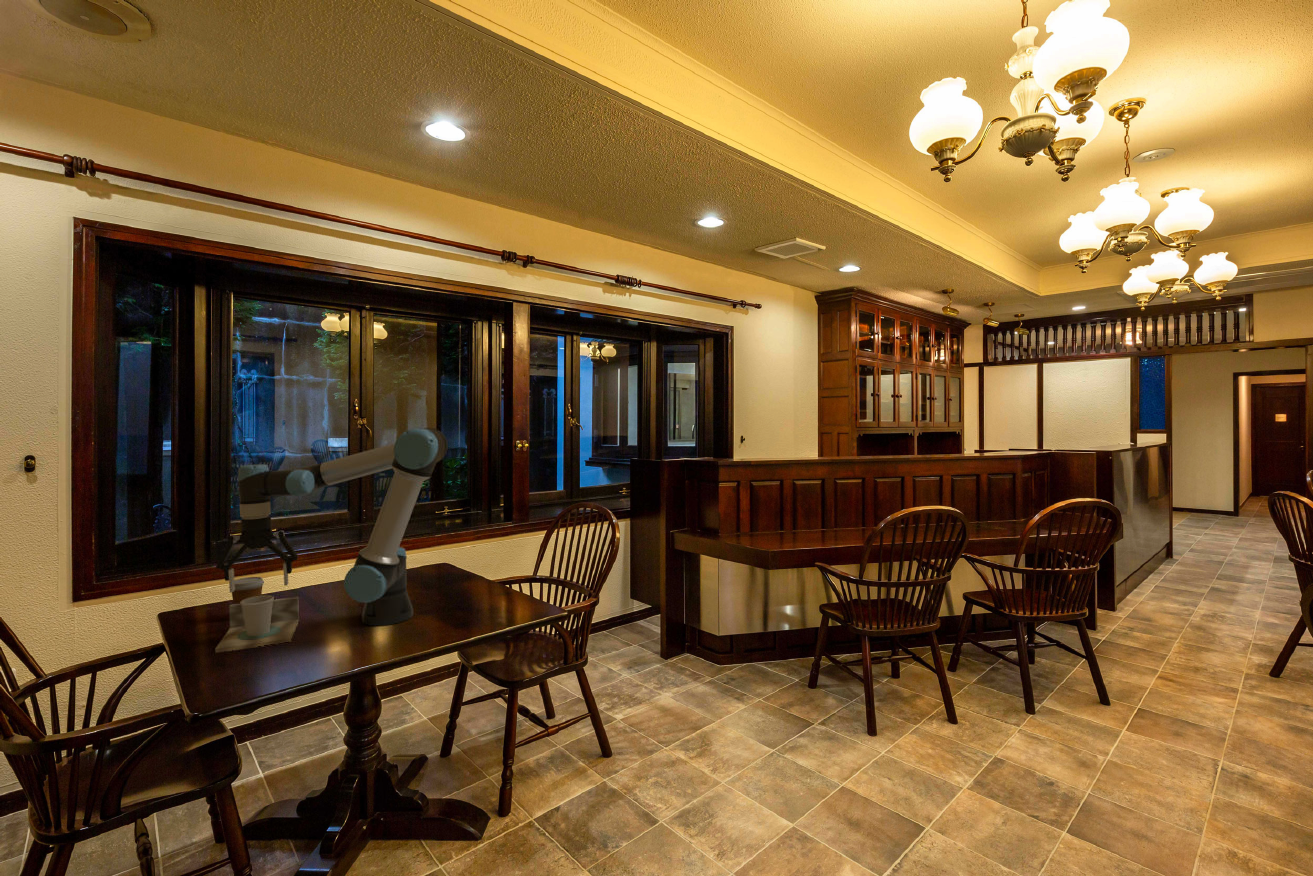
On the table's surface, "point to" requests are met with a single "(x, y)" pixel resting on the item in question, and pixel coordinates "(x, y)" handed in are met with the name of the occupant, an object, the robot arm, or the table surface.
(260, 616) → the dixie cup
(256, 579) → the disposable coffee cup
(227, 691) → the table surface
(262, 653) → the table surface
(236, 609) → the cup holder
